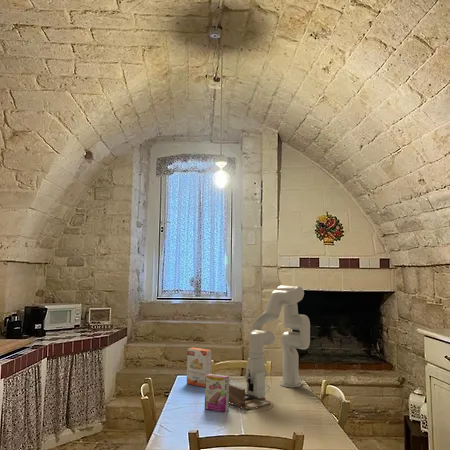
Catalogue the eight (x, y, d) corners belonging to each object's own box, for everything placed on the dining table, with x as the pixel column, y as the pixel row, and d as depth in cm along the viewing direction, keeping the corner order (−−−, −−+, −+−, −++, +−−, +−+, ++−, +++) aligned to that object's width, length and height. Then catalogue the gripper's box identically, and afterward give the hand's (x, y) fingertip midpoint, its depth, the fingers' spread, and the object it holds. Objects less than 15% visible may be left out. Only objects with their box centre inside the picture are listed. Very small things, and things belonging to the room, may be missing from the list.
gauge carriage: (244, 395, 234) (245, 391, 234) (264, 403, 221) (264, 399, 222) (234, 398, 229) (234, 394, 229) (253, 405, 217) (254, 401, 217)
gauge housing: (247, 396, 237) (247, 379, 238) (270, 404, 223) (270, 386, 224) (224, 401, 227) (224, 383, 228) (247, 410, 213) (247, 391, 214)
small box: (265, 397, 231) (265, 372, 232) (256, 399, 227) (256, 374, 228) (254, 393, 237) (255, 369, 238) (246, 395, 233) (246, 371, 234)
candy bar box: (204, 409, 212) (204, 375, 214) (207, 407, 217) (208, 373, 219) (225, 412, 209) (226, 377, 210) (229, 409, 213) (229, 375, 215)
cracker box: (186, 384, 259) (187, 348, 262) (192, 382, 265) (193, 346, 267) (205, 387, 252) (206, 351, 254) (211, 385, 257) (212, 349, 259)
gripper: (263, 352, 242) (262, 385, 240) (239, 356, 231) (238, 390, 230) (272, 354, 236) (272, 389, 234) (248, 358, 226) (248, 394, 224)
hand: (255, 389), depth 232 cm, fingers closed on small box, 6 cm apart
